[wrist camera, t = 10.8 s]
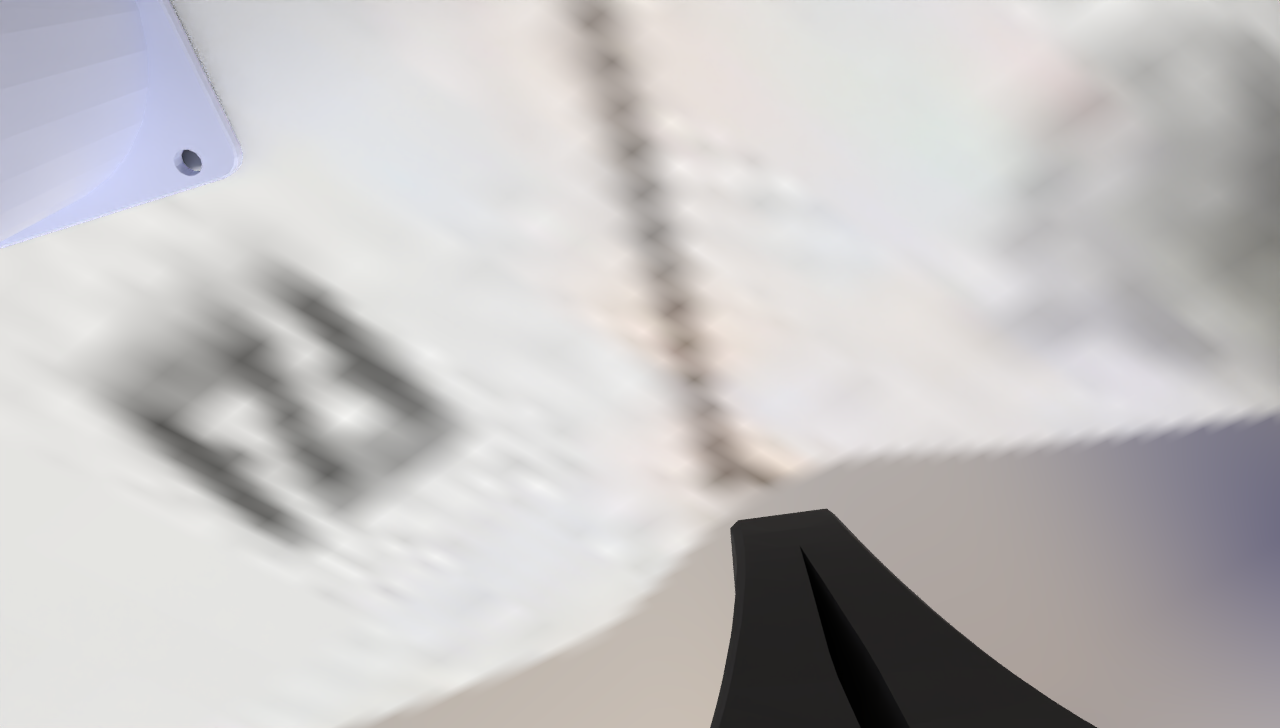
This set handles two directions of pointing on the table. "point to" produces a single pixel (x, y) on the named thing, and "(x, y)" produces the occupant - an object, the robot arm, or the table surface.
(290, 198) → the table surface
